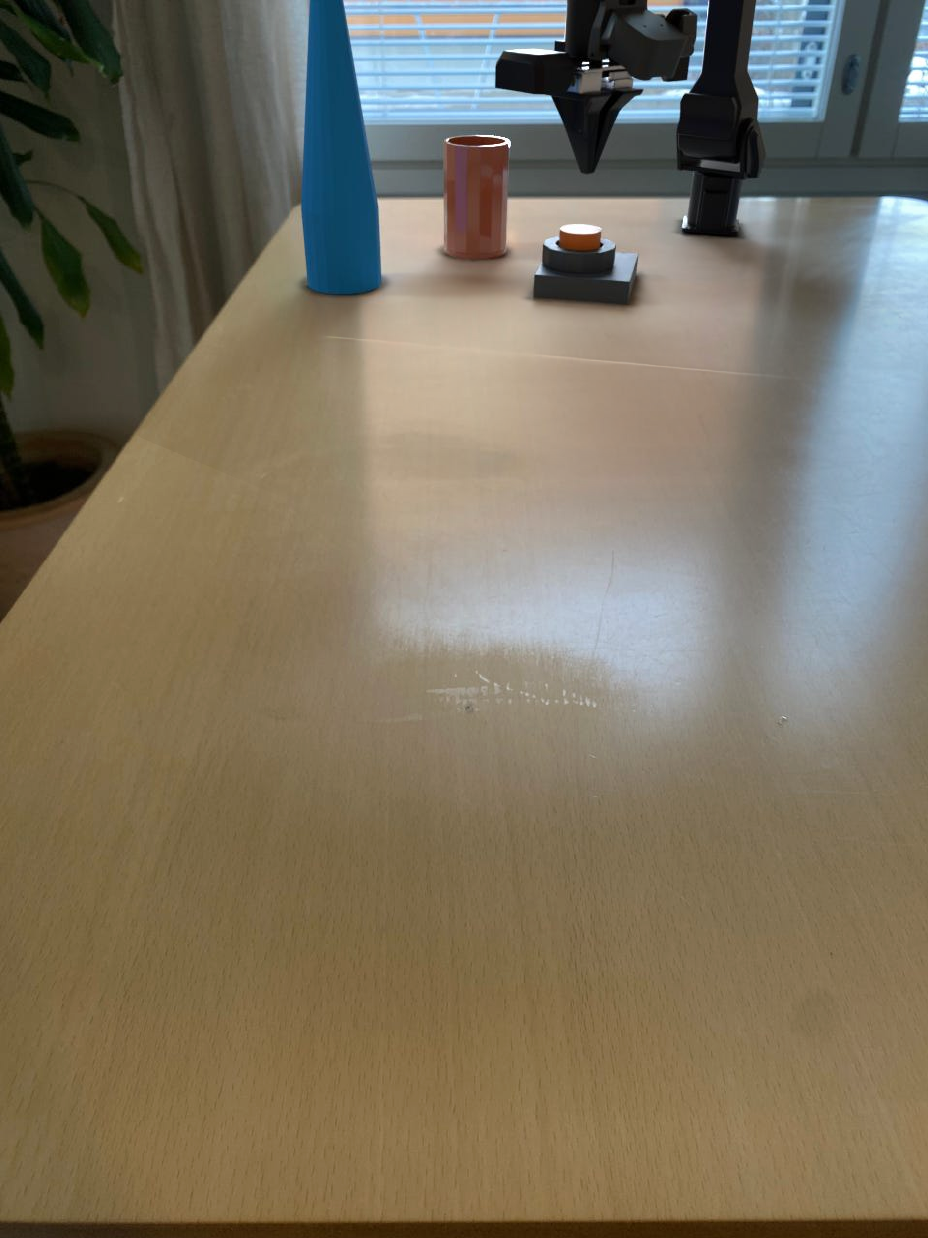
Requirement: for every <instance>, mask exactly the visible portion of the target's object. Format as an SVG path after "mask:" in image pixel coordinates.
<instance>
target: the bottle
mask: <svg viewBox="0 0 928 1238" xmlns="http://www.w3.org/2000/svg"><path fill="white" fill-rule="evenodd" d="M308 7H309V8H308V10H309V11H308V32H307V54H306V77H305V78H306V82H305V102H304V103H305V104H304V127H303V128H304V130H303V152H302V153H303V154H302V172H301V173H302V176H301V196H300V197H301V200H300V201H301V202H300V212H301V223H302V224H301V225H302V235H303V247H304V259H305V267H306V268H305V269H306V280H307V282H306V283H307V287H308V288H309V289H310V290H312V291H315V292H318V293H323V294H327V295H357V294H363V293H367V292H371V291H375V290H376V289H377V288H379V287H380V286H381V285H382V283H383V282H382V281H383V279H382V262H381V261H382V257H381V238H380V237H381V236H380V234H381V233H380V211H379V210H380V209H379V202H378V197H377V191H376V184H375V179H374V174H373V172H374V171H373V167H372V159H371V155H370V150H369V149H370V147H369V143H368V138H367V132H366V125H365V120H364V114H363V108H362V103H361V102H362V101H361V96H360V90H359V84H358V79H357V73H356V68H355V67H356V66H355V61H354V55H353V49H352V44H351V38H350V31H349V25H348V20H347V15H346V14H347V13H346V8H345V2H344V0H309V6H308Z"/></svg>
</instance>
